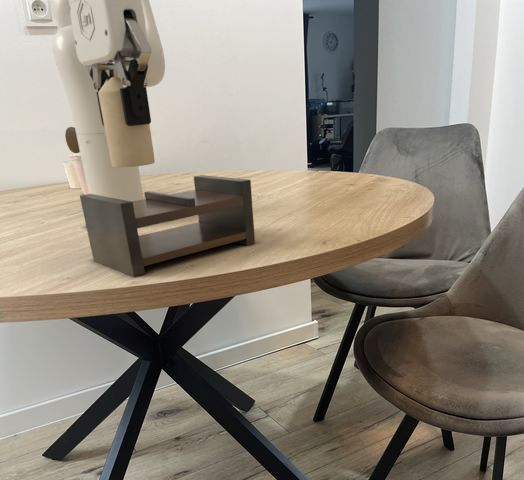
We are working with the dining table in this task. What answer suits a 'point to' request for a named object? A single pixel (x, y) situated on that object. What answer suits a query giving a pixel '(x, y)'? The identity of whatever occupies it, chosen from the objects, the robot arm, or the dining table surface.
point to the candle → (123, 130)
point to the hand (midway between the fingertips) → (126, 123)
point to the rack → (163, 210)
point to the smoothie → (79, 171)
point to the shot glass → (71, 175)
